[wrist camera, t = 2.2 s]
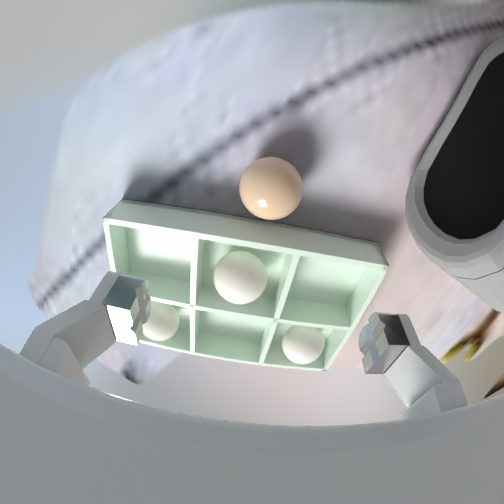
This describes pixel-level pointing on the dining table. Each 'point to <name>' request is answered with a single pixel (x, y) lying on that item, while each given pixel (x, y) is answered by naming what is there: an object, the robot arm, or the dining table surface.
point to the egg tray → (271, 300)
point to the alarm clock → (466, 185)
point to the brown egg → (271, 188)
